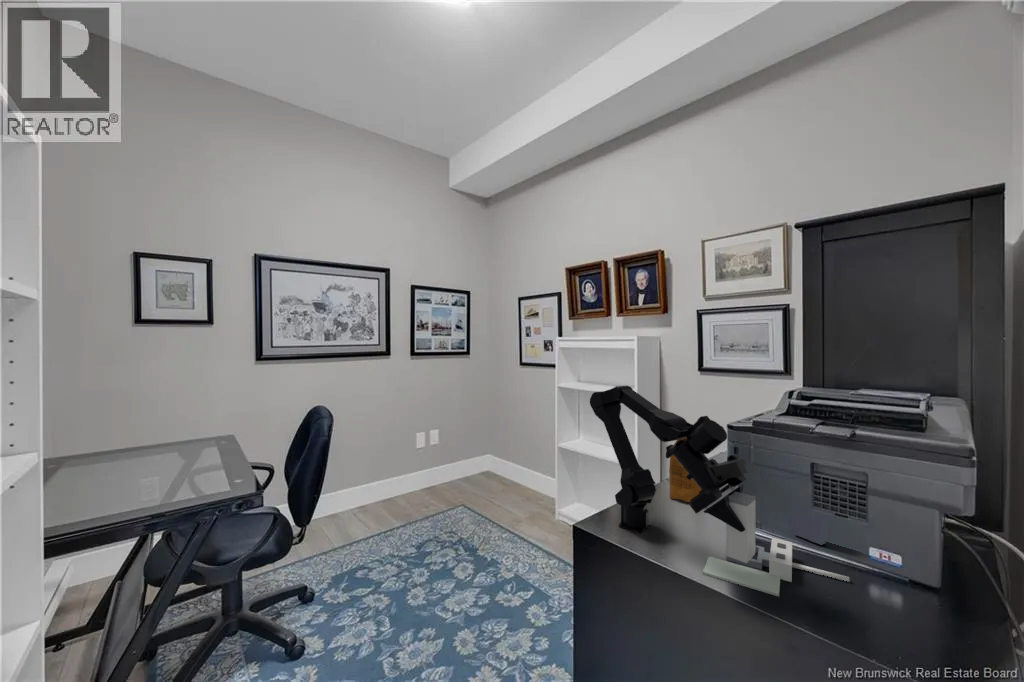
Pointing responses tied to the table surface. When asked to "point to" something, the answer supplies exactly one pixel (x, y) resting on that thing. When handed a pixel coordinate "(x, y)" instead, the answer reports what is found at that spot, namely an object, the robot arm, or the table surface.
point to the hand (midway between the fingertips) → (748, 526)
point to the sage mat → (743, 576)
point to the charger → (744, 542)
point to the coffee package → (681, 481)
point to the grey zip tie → (781, 561)
